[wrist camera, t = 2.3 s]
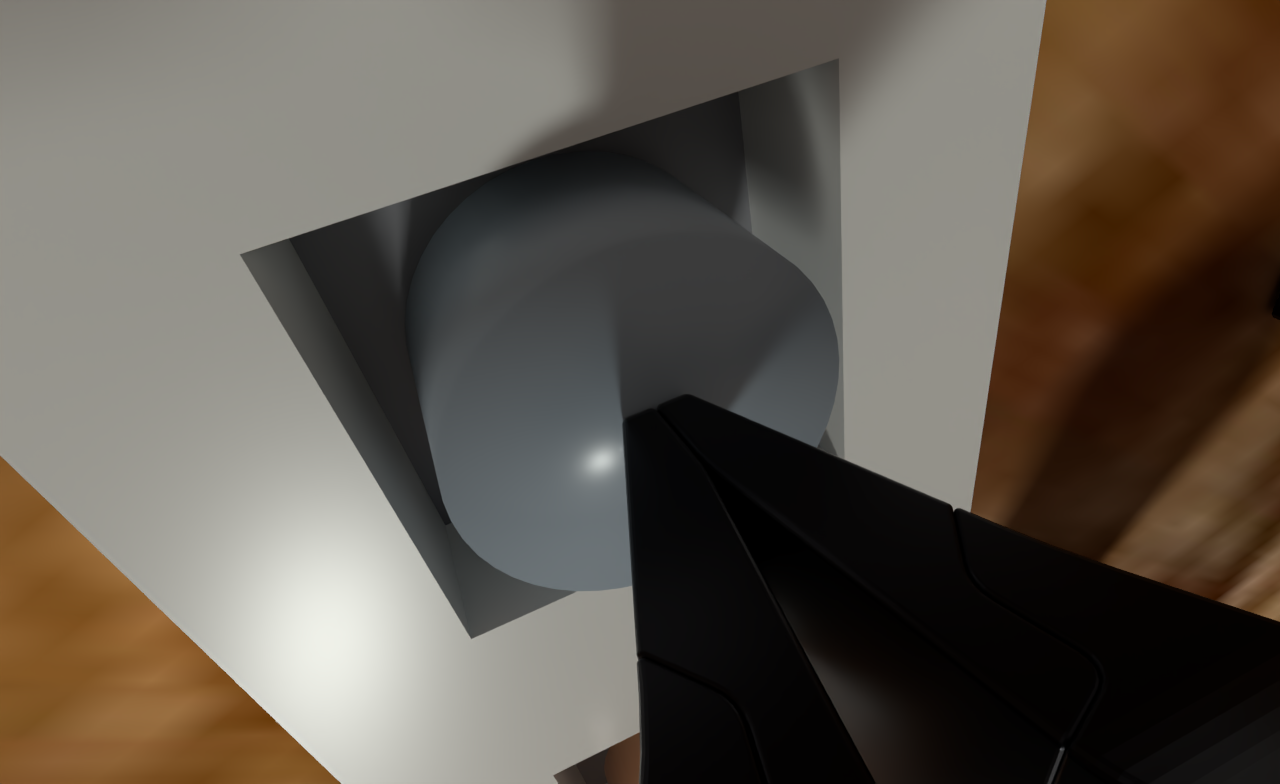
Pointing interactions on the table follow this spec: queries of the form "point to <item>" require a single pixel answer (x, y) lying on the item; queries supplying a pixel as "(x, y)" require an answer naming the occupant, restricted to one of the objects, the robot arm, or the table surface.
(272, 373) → the button panel
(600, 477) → the slate-grey button
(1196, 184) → the table surface
